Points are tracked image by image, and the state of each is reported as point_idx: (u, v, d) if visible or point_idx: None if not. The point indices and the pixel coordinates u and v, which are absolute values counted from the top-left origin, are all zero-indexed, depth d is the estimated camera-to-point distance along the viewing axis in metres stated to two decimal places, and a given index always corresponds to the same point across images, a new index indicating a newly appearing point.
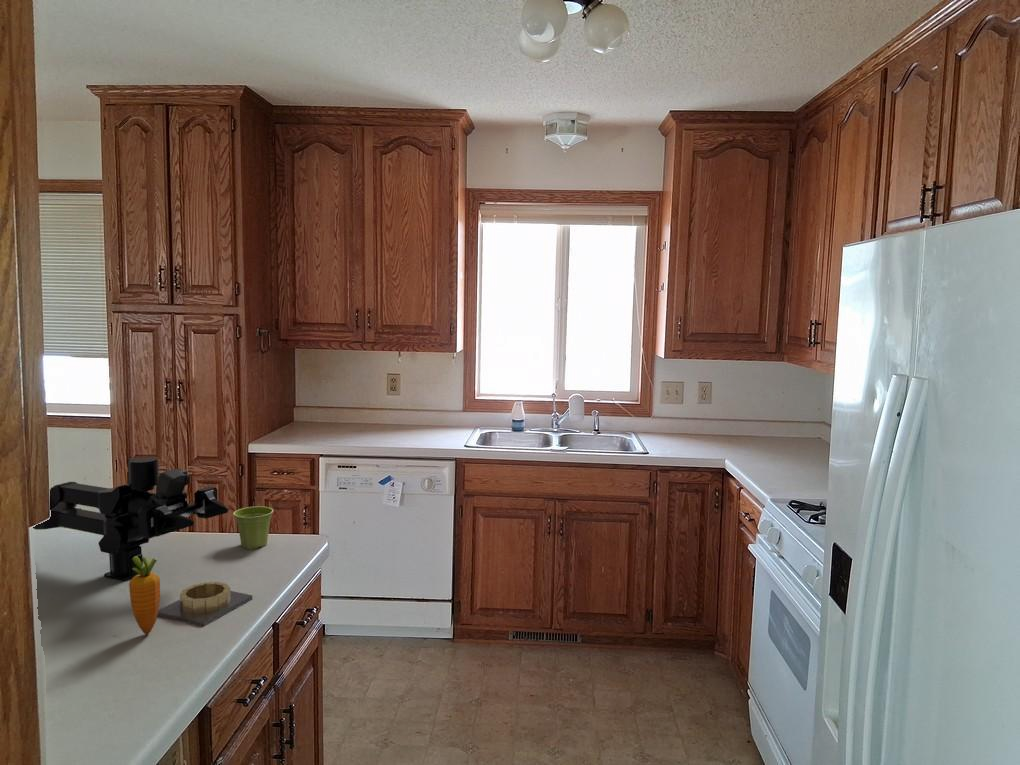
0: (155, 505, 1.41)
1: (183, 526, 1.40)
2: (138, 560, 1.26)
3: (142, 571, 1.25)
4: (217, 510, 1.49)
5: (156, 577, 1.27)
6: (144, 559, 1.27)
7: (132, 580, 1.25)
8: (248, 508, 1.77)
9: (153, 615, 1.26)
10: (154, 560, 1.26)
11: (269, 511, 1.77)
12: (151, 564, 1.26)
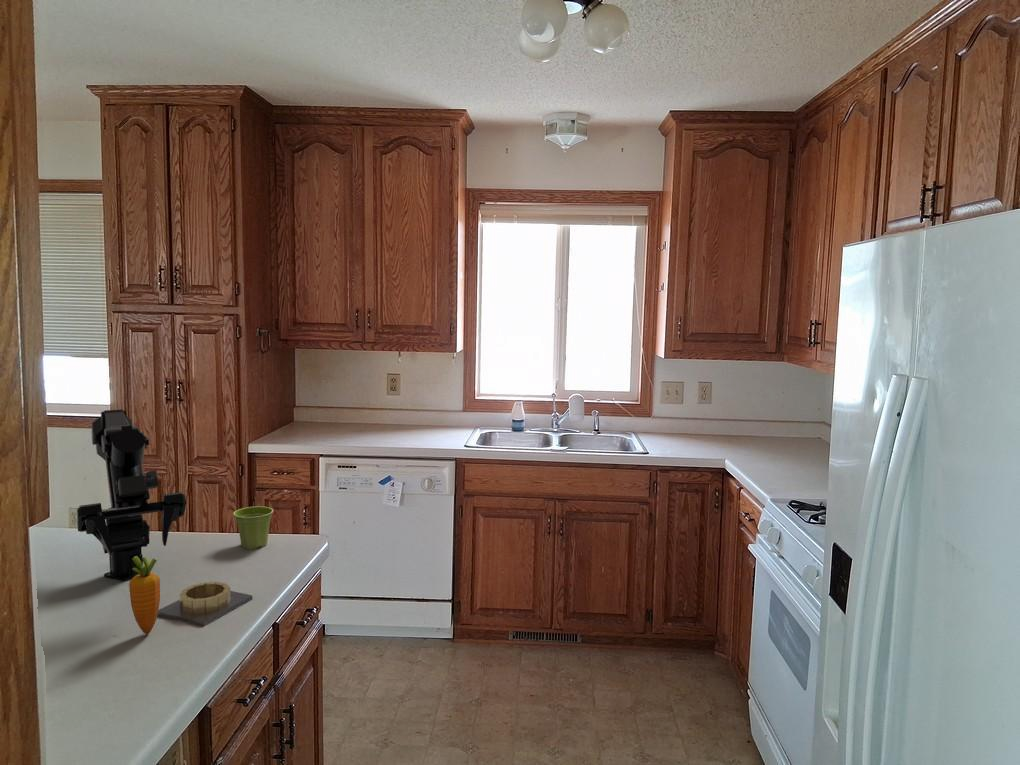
0: (95, 510, 1.31)
1: (105, 548, 1.31)
2: (138, 560, 1.26)
3: (142, 571, 1.25)
4: (162, 533, 1.37)
5: (156, 577, 1.27)
6: (144, 559, 1.27)
7: (132, 580, 1.25)
8: (248, 508, 1.77)
9: (153, 615, 1.26)
10: (154, 560, 1.26)
11: (269, 511, 1.77)
12: (151, 564, 1.26)
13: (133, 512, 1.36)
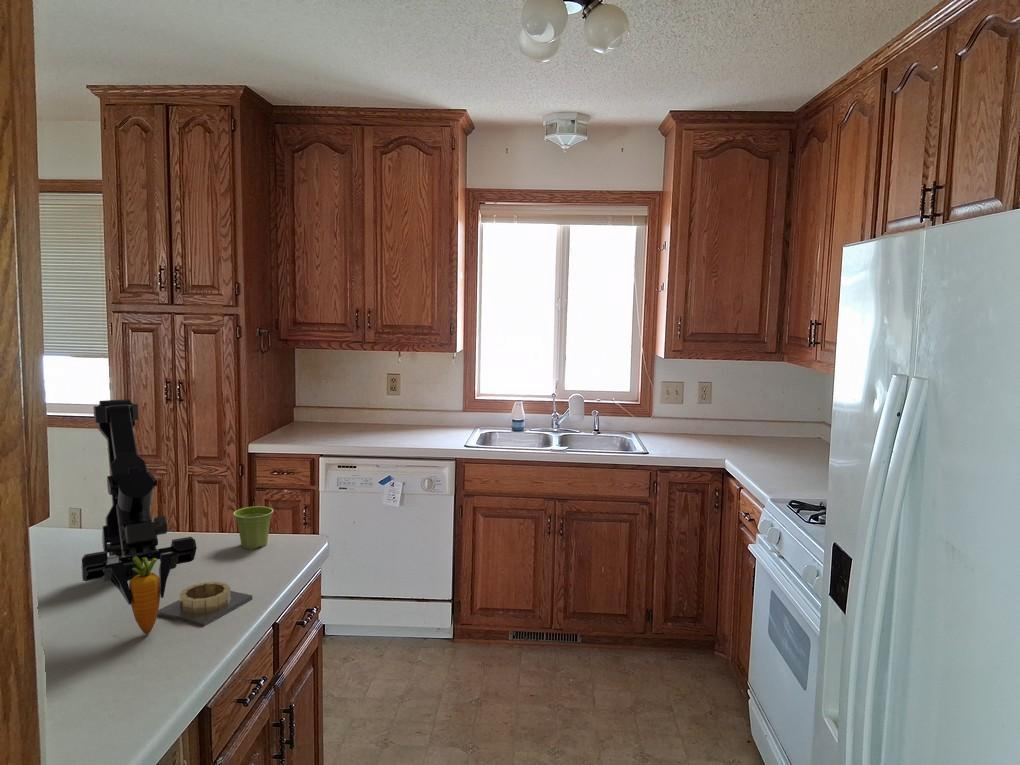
0: (101, 560, 1.24)
1: (124, 596, 1.25)
2: (138, 560, 1.26)
3: (142, 571, 1.25)
4: None
5: (156, 577, 1.27)
6: (144, 559, 1.27)
7: (132, 580, 1.25)
8: (248, 508, 1.77)
9: (153, 615, 1.26)
10: (154, 560, 1.26)
11: (269, 511, 1.77)
12: (151, 564, 1.26)
13: (128, 561, 1.28)
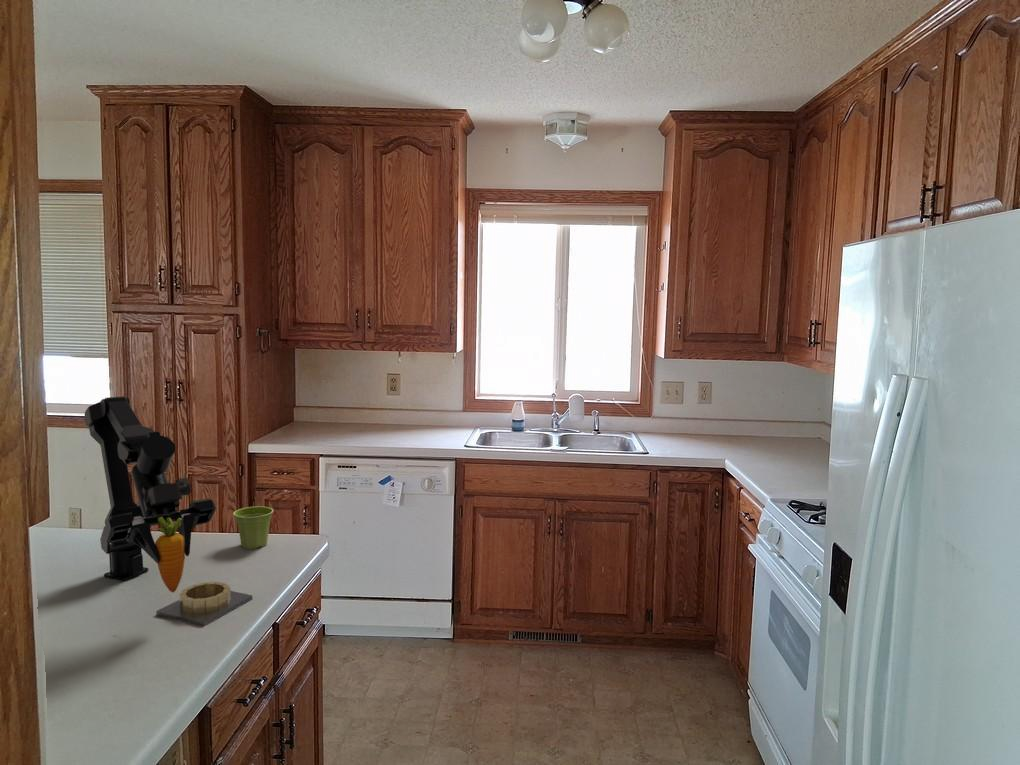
0: (127, 520, 1.27)
1: (150, 555, 1.29)
2: (163, 520, 1.29)
3: (168, 531, 1.29)
4: None
5: (181, 536, 1.31)
6: (168, 519, 1.30)
7: (158, 540, 1.29)
8: (248, 508, 1.77)
9: (180, 573, 1.31)
10: (179, 520, 1.30)
11: (269, 511, 1.77)
12: (176, 524, 1.30)
13: (151, 522, 1.31)
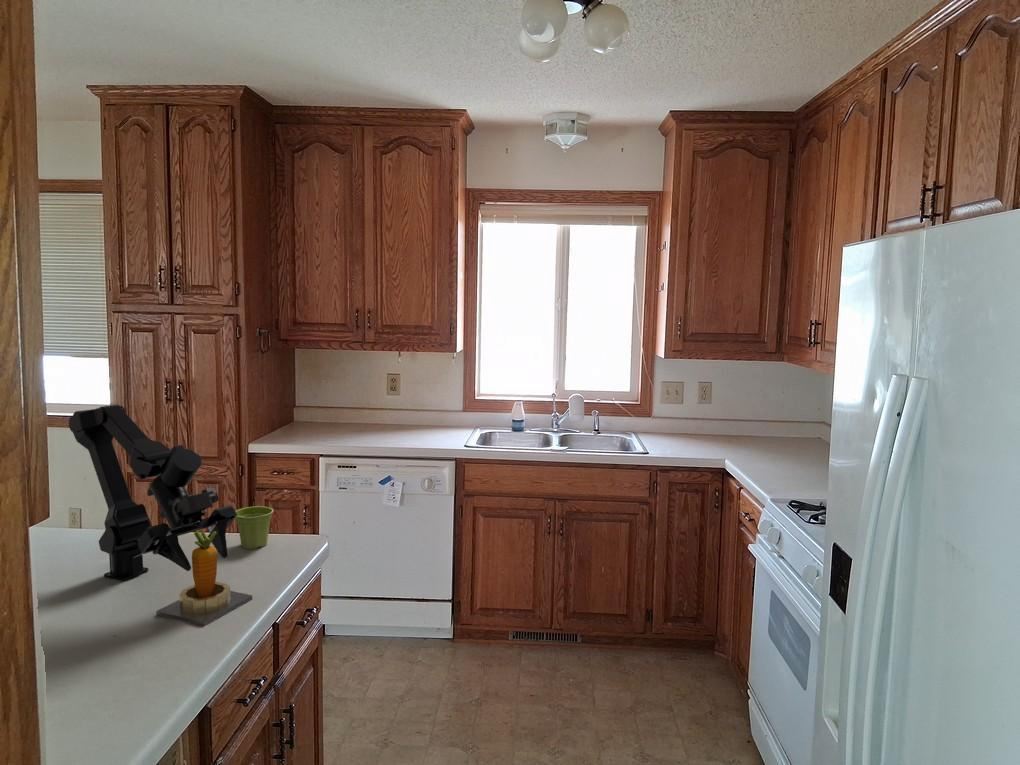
0: (165, 530, 1.33)
1: (180, 565, 1.34)
2: (199, 534, 1.38)
3: (204, 543, 1.38)
4: (219, 547, 1.42)
5: (215, 548, 1.39)
6: (203, 533, 1.39)
7: (195, 552, 1.37)
8: (248, 508, 1.77)
9: (214, 583, 1.39)
10: (215, 533, 1.39)
11: (269, 511, 1.77)
12: (212, 537, 1.38)
13: (188, 530, 1.39)
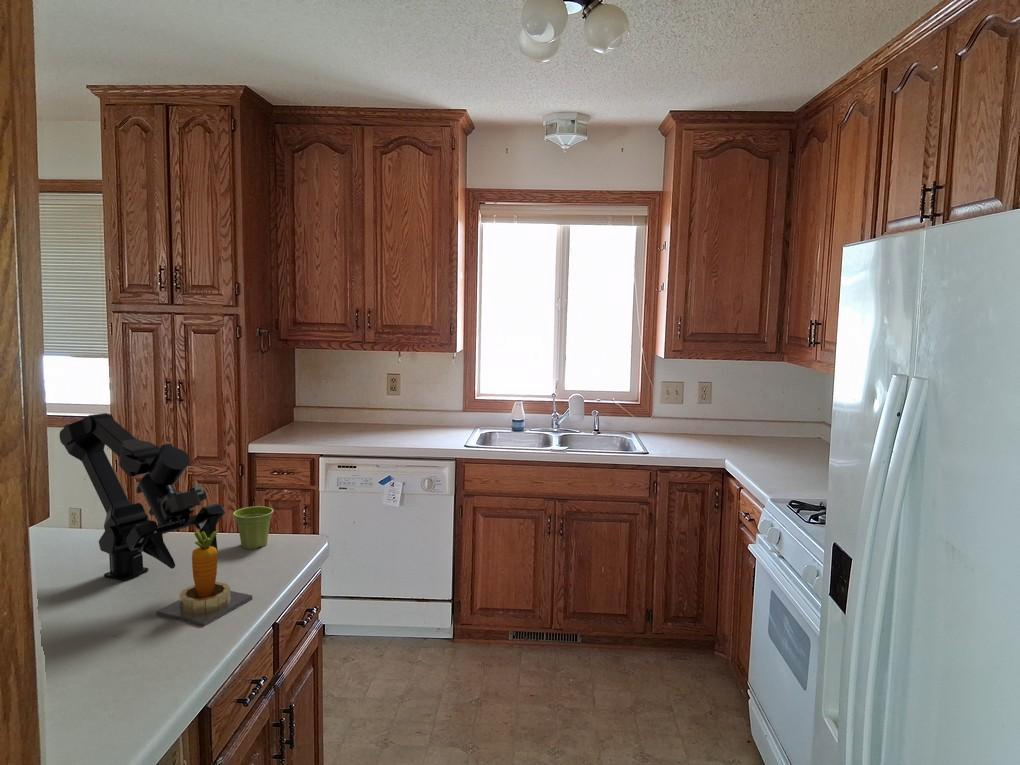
0: (152, 528, 1.35)
1: (164, 562, 1.36)
2: (199, 534, 1.37)
3: (204, 544, 1.37)
4: None
5: (215, 548, 1.39)
6: (203, 533, 1.38)
7: (196, 553, 1.37)
8: (248, 508, 1.77)
9: (214, 583, 1.39)
10: (215, 533, 1.39)
11: (269, 511, 1.77)
12: (212, 537, 1.38)
13: (179, 526, 1.42)
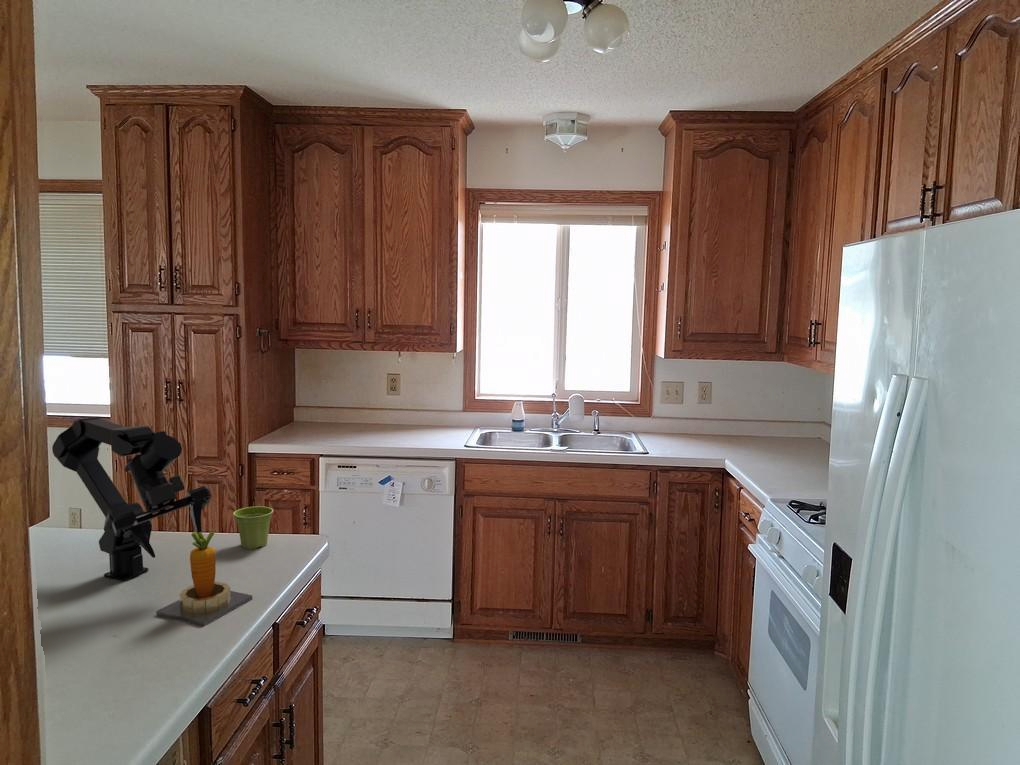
0: (130, 521, 1.39)
1: None
2: (197, 535, 1.37)
3: (202, 544, 1.37)
4: (195, 527, 1.47)
5: (213, 548, 1.39)
6: (200, 534, 1.38)
7: (193, 553, 1.36)
8: (248, 508, 1.77)
9: (213, 583, 1.39)
10: (212, 533, 1.38)
11: (269, 511, 1.77)
12: (209, 537, 1.38)
13: (164, 512, 1.45)
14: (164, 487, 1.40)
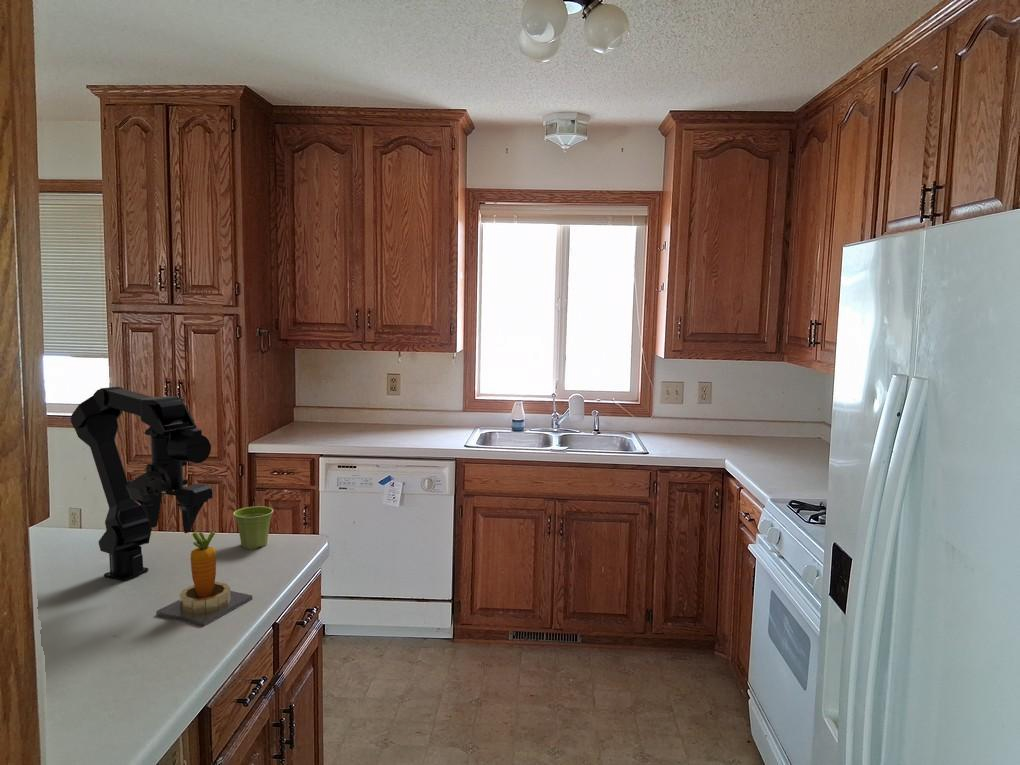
0: None
1: None
2: (197, 535, 1.37)
3: (203, 544, 1.37)
4: None
5: (213, 548, 1.39)
6: (201, 534, 1.38)
7: (194, 553, 1.36)
8: (248, 508, 1.77)
9: (213, 583, 1.39)
10: (213, 533, 1.38)
11: (269, 511, 1.77)
12: (210, 537, 1.38)
13: (167, 493, 1.45)
14: (135, 489, 1.37)
